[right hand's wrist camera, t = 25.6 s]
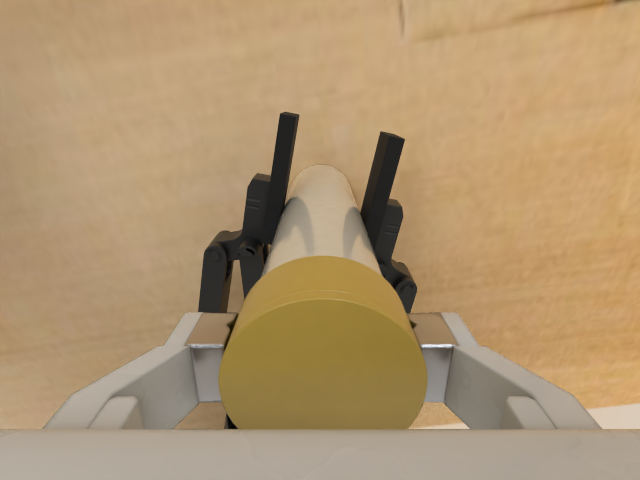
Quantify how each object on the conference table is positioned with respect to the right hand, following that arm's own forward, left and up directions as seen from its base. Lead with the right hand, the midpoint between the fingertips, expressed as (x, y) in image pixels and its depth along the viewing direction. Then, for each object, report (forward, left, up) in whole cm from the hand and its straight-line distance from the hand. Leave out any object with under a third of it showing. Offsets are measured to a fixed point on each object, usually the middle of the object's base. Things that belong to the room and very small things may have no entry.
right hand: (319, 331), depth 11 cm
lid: (0, 0, +2) cm, 2 cm away
